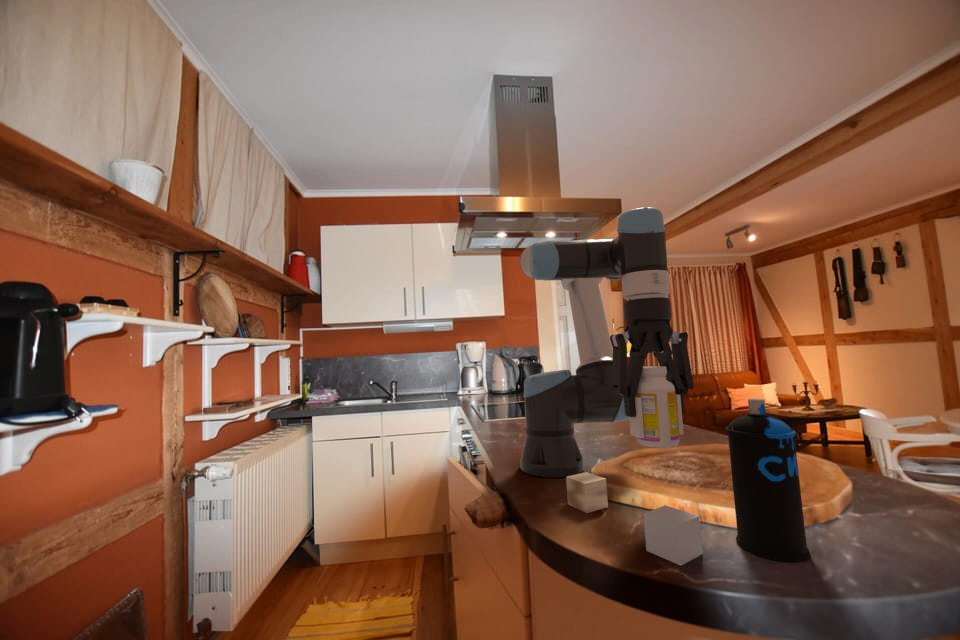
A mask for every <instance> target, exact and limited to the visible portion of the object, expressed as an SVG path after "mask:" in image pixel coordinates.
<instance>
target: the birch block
mask: <svg viewBox="0 0 960 640" xmlns="http://www.w3.org/2000/svg"><path fill="white" fill-rule="evenodd" d="M565 480H566V496H567V505H569V506H571V507H573V508H575V509H577V510H579V511H581V512H583V513H585V514H588V513H592V512H595V511H598V510H599V511H600V510H603V509H607V508H608V507H609V500H608V486H607V478H605V477H602V476H599V475H597V474H594V473H591V472H588V471H587V472H581V473H579V474H576V475H572V476H567V477H565Z"/></svg>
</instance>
